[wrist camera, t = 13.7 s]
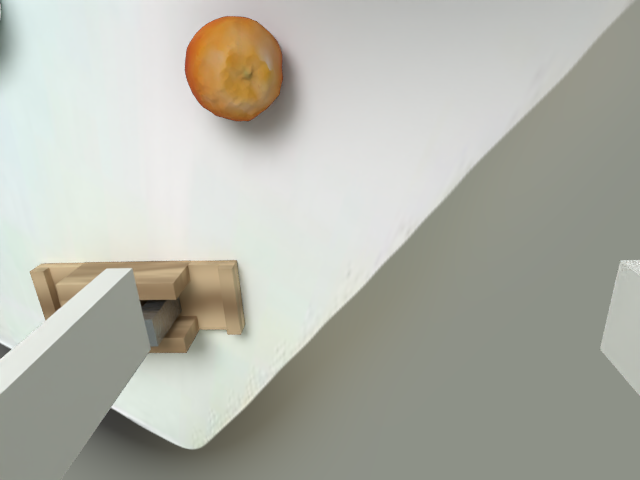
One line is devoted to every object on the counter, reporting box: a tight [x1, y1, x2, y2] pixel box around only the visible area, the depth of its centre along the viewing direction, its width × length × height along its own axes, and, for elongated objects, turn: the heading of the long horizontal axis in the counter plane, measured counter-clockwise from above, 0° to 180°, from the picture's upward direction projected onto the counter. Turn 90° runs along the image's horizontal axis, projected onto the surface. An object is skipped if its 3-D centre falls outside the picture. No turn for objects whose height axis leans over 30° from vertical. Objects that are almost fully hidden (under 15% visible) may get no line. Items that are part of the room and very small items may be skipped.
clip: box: [141, 296, 182, 346], centre depth 46 cm, size 3×9×6 cm, turn 93°
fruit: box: [185, 16, 283, 121], centre depth 38 cm, size 8×8×8 cm
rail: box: [30, 260, 245, 353], centre depth 48 cm, size 8×22×5 cm, turn 93°
